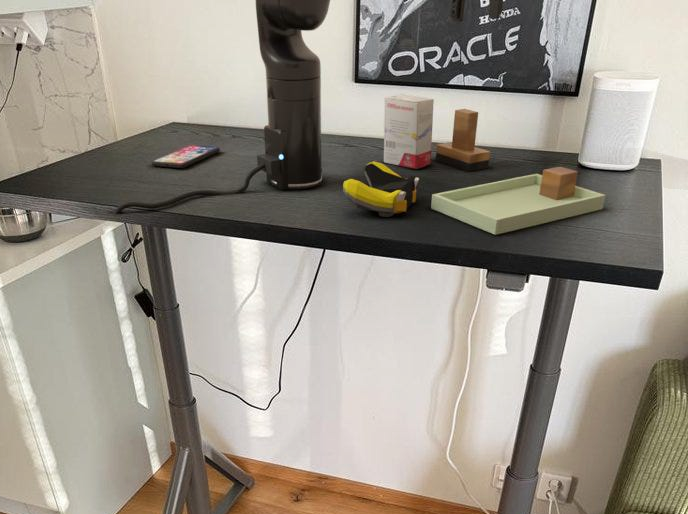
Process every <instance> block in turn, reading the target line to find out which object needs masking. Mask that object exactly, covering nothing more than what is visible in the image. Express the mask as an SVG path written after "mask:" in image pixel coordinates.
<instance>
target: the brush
mask: <svg viewBox="0 0 688 514" xmlns="http://www.w3.org/2000/svg"><path fill="white" fill-rule="evenodd" d="M478 119H479V111H475V110H473V109H467V108H462V109H455V110H454V117H453V129H452V141H451V142H443V143H437V144H436V152H435V161H436V162H439V163H442V164H444V165H448V166H451V167H453V168H456V169H459V170H463V171H465V172H473V171H474V172H475V171H478V170H483V169H488V168H489V164H490V163H489V162H490V156H491V155H490V154H491V151H490V150H486V149H484V148H479V147H478V146H476V139H477V128H478Z"/></svg>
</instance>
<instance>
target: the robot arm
mask: <svg viewBox="0 0 688 514" xmlns="http://www.w3.org/2000/svg"><path fill="white" fill-rule="evenodd" d="M489 1H490V2H489V8H488V9H489V10H488V18H489V19H490V20H491V19H492V20H499V19H500V18H501V15H502V13H503V6H504V5H503V4H504V0H489ZM330 2H331V0H255V14H256V24H257V35H258V42H259V43H258V45H259V52H260V57H261V60H262V62H263V64H264V68H265V76H266V77H265V81H266V82H265V83H266V103H267V122H268V123H267V125H266V124H265V125H264V127H263V135H264V153H259V154H256V164H257V166H256V167H254V168H253V169H252V170H250V172H248V174H247V175H246V177H245V180H244V183H243V185H242V186H241V187H239V188H236V189H235V190H230V191H222V190H221V191H220V190H210V189H199V190H192V191H189V192H184V193H182V194H179V195H177V196H174V197H172V198H169V199H166V200H162V201H159V202H150V203H149V202H142V201H141V202H140V201H126V202H123V203H121V204H120V205H118V206H117V207H116V208H115V210H114V211H113V213H112V214H113V215H119V214H121V213H122V211H124V210H125V209H127V208H142V209H159V208H164V207H167V206H170V205H174V204H175V203H178V202H180V201H183V200H185V199H189V198H193V197H197V196H224V195H225V196H227V195H237V194H242V193H243V192H245V191H246V190H248V187H249V185H250V182H251V179H252V178H253V177H254V176H255V175H256V174H258V173H260V172H261V171H262V172H263V173H266V176H265V177H266V183H268V184H269V185H271V186H273V187H276V188H277V189H280V190H282V191H286V190H307V189H310V188H311V189H313V188H316V187H318V186H320V185H322V183H323V175H322V172H323V168H322V89H321V88H322V75H321V74H322V73H321V72H322V71H321V70H322V69H321V68H322V67H321V60H320V57H319V56H318V55H317V54H316V53H315V52H314V51H312V50H311V49H310V47H309V46H308V45H307V44H306V42H305V41H304V39H303V34H302V32H303V31H305V32H311V31H312V32H313V31H316V30H317V29H318V28H320V27H321V26H322V24H323V23H324V21H325V20H326V17H327V15H328V12H329V7H330ZM465 4H466V0H451V5H450V7H451V8H450V18H451V21H452V22H454V23H462V22H463V21H464V13H465Z"/></svg>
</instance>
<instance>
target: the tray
mask: <svg viewBox="0 0 688 514" xmlns="http://www.w3.org/2000/svg"><path fill="white" fill-rule="evenodd" d="M541 180H542V174H539V173H533V174H528V175H524V176H523V175H522V176H517V177H512V178H507V179H503V180H499V181H493V182H488V183H483V184H478V185H472V186H468V187H463V188H462V187H461V188H458V189H453V190H447V191H442V192H438V193H437V192H436V193H433V194H431V203H430V209H431V210H433V211H437V212H438V213H441V214H444V215H446V216H448V217H451V218H453V219H455V220H458V221H460V222H463V223H465V224H467V225H471V226H472V227H475V228H477V229H480V230H483V231H485V232H487V233H490V234H492V235H495V236H496V235H501V234H504V233H509V232H514V231H517V230H521V229H525V228H530V227H535V226H539V225H543V224H547V223H551V222H555V221H559V220H564V219H568V218H571V217H576V216H579V215H584V214H589V213H592V212H593V213H594V212H597V211H600V210H603V208H604V204H605V199H606V194H603V193H600V192H597V191H594V190H590V189H587V188H584V187H581V186H578V185H575V190H574V195H573V197H569V198H564V199H560V200H554V199H551V198H548V197H545V196H542V195H539V192H540V186H541Z"/></svg>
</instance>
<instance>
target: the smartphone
mask: <svg viewBox="0 0 688 514" xmlns="http://www.w3.org/2000/svg"><path fill="white" fill-rule="evenodd" d="M220 151H221V149H220V147H219V146H211V145H210V146H209V145H196V144H189V145H185V146H184V147H181V148H178V149H177V150H174V151H172V152H169V153H167V154H165V155H162V156H159V157H158V158H155V159H153V160H151V166H153V167H164V168H174V169H185V168H187V167H188V166H192V165H193V164H195V163H197V162H200V161H202V160H204V159H207V158H209V157H211V156H213V155H215V154H217V153H219V152H220Z"/></svg>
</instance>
